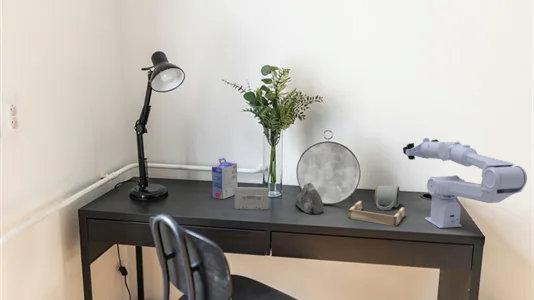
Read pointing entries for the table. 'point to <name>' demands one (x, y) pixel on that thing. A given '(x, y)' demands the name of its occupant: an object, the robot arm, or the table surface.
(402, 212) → the bracket
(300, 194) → the mineral rock
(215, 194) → the ink cartridge box
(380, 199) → the ceramic mug
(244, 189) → the cassette
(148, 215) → the table surface
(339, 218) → the table surface
